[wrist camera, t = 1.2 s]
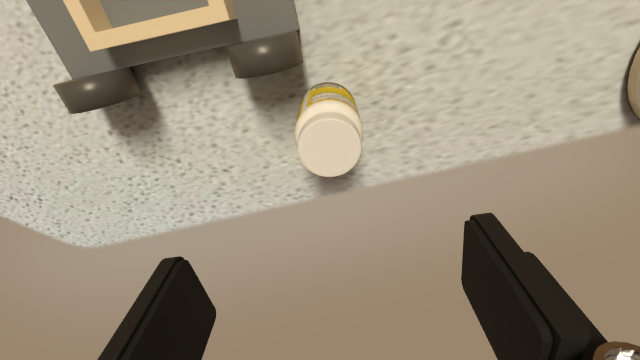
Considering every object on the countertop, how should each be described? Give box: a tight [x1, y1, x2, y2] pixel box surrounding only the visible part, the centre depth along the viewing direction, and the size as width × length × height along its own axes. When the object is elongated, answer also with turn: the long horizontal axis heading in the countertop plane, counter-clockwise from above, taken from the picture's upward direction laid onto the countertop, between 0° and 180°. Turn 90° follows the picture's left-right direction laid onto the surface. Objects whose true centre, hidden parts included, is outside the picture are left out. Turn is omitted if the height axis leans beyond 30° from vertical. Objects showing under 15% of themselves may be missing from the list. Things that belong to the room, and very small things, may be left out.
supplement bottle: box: [294, 82, 363, 177], centre depth 22 cm, size 5×5×8 cm
